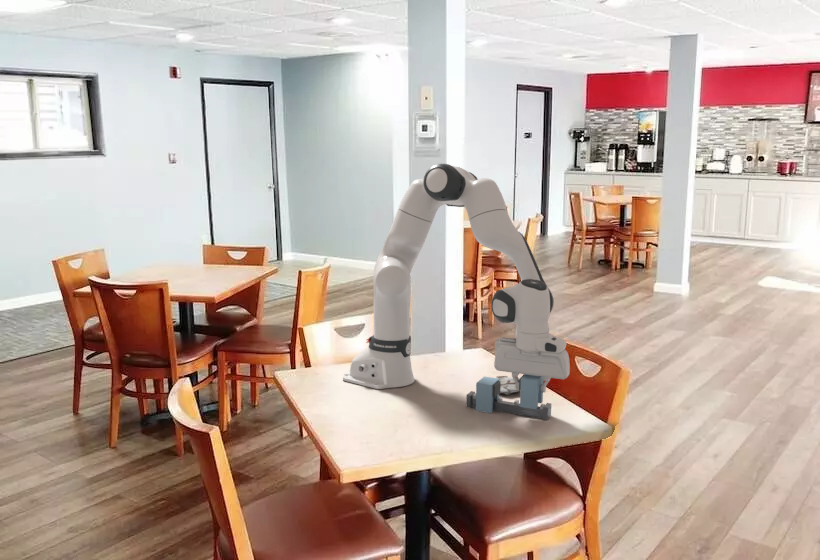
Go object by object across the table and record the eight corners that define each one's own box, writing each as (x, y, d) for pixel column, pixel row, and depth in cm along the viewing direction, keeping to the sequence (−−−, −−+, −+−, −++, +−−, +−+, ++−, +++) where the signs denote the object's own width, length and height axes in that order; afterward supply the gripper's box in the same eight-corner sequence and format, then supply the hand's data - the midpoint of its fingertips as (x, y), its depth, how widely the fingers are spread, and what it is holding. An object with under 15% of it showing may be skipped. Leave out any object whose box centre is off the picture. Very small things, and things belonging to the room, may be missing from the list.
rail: (466, 407, 210) (466, 394, 210) (470, 403, 214) (471, 391, 213) (547, 420, 201) (547, 407, 200) (550, 416, 204) (551, 403, 203)
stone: (527, 396, 220) (528, 385, 220) (498, 398, 218) (498, 387, 218) (513, 383, 232) (513, 373, 231) (485, 385, 230) (485, 375, 229)
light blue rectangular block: (475, 410, 208) (476, 382, 206) (483, 403, 213) (484, 376, 212) (493, 413, 206) (494, 385, 204) (500, 406, 211) (501, 378, 210)
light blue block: (517, 406, 203) (518, 378, 201) (524, 399, 208) (525, 371, 207) (536, 409, 200) (537, 380, 199) (542, 401, 206) (543, 373, 205)
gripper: (491, 339, 202) (490, 388, 205) (566, 347, 194) (564, 398, 196) (498, 333, 208) (497, 381, 211) (572, 342, 200) (570, 391, 202)
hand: (530, 390), depth 203 cm, fingers closed on light blue block, 5 cm apart
